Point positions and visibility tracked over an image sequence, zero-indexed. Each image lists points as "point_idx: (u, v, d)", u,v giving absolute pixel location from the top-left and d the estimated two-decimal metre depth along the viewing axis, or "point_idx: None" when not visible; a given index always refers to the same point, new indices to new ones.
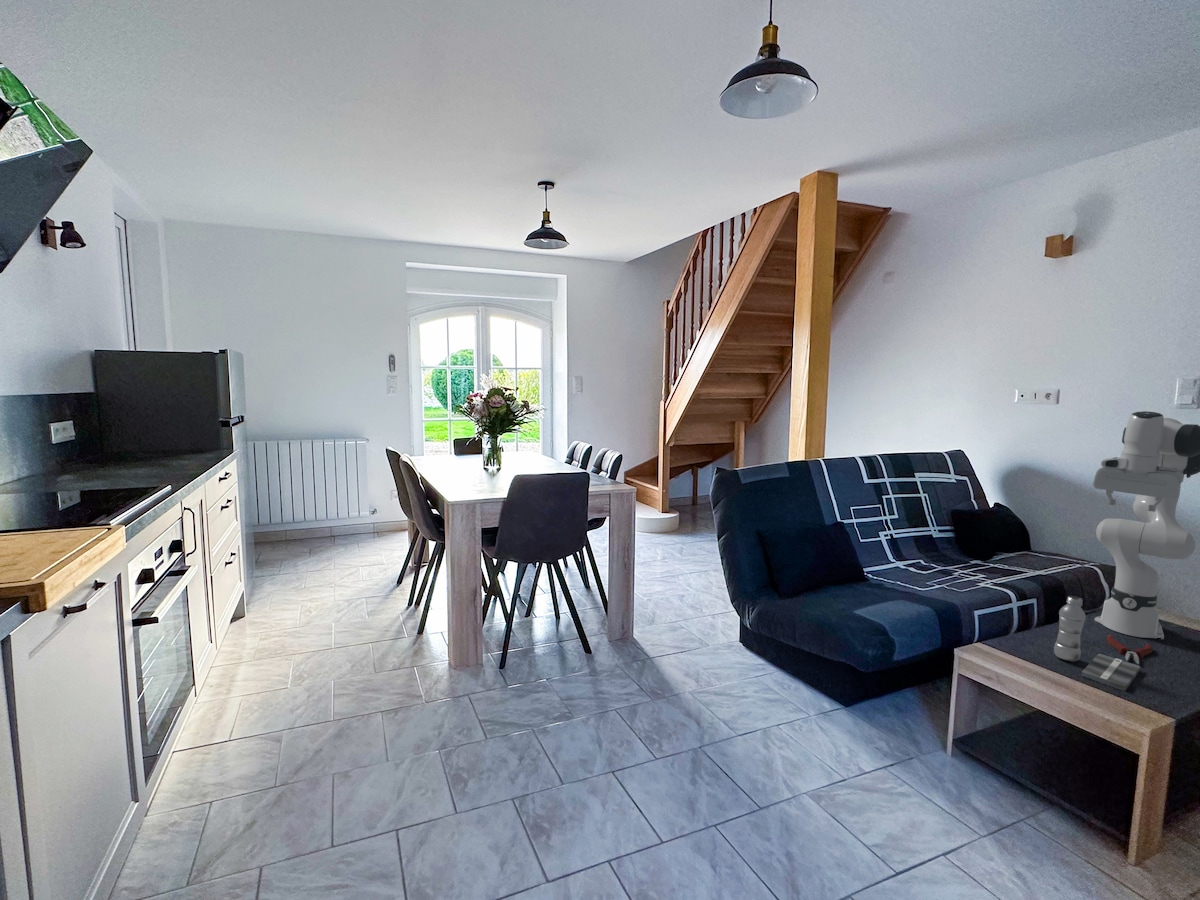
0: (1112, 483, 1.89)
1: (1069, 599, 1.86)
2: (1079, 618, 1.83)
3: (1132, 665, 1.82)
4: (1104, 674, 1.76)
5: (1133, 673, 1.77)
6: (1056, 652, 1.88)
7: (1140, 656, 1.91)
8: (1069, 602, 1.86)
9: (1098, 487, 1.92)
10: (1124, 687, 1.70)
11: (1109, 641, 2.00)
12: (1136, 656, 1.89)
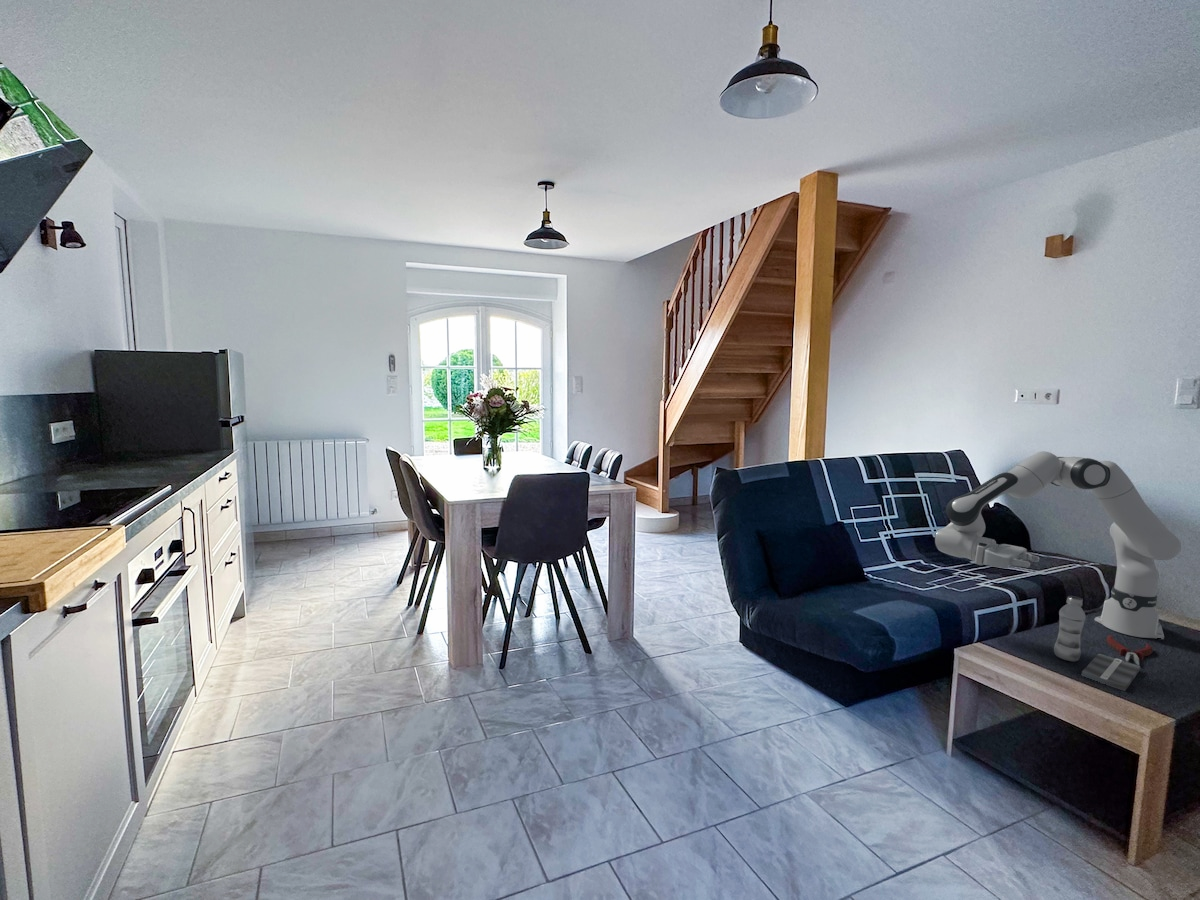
0: (1004, 553, 1.96)
1: (1069, 599, 1.86)
2: (1079, 618, 1.83)
3: (1132, 665, 1.82)
4: (1104, 674, 1.76)
5: (1133, 673, 1.77)
6: (1056, 652, 1.88)
7: (1140, 657, 1.90)
8: (1069, 602, 1.86)
9: (1007, 557, 1.93)
10: (1124, 687, 1.70)
11: (1109, 642, 2.00)
12: (1136, 657, 1.88)
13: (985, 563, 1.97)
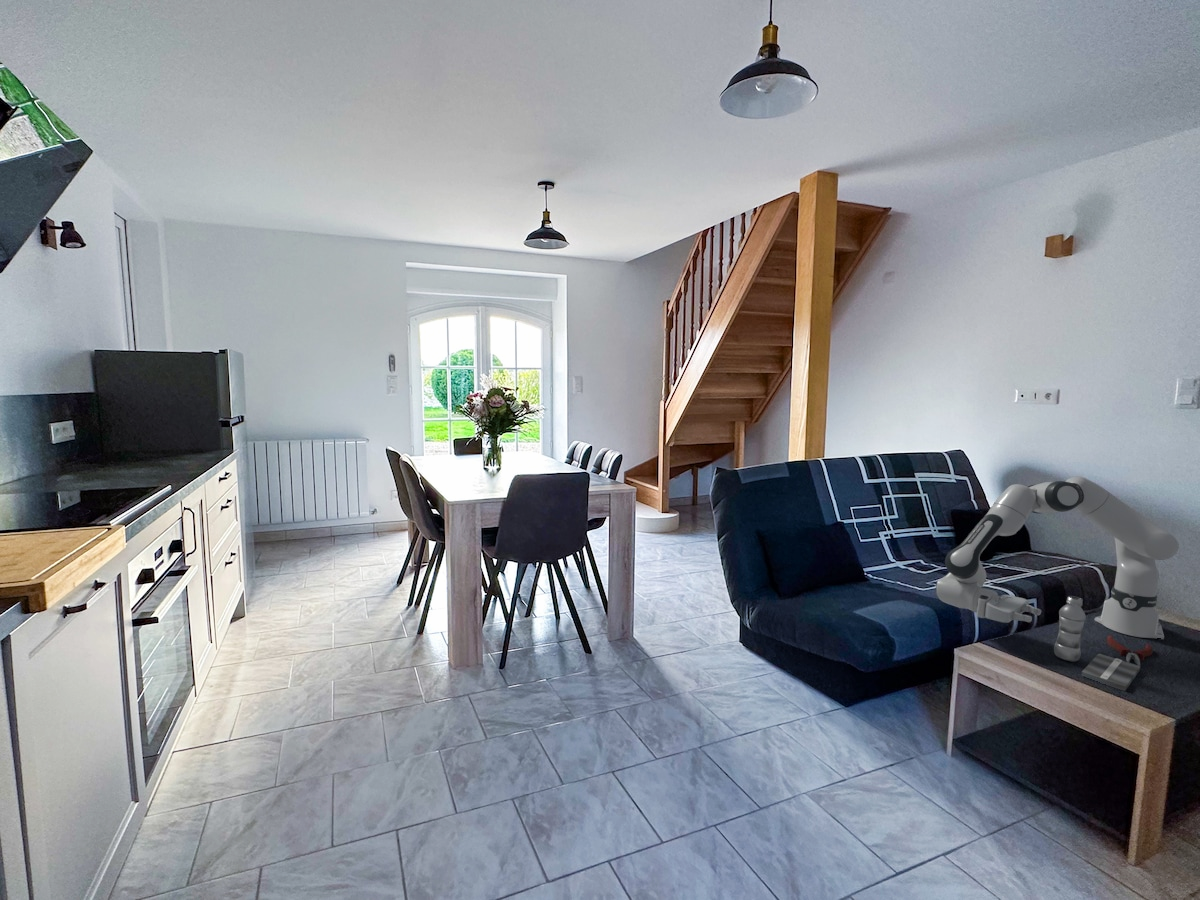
0: (1005, 607, 1.95)
1: (1069, 599, 1.86)
2: (1079, 618, 1.83)
3: (1132, 665, 1.82)
4: (1104, 674, 1.76)
5: (1133, 673, 1.77)
6: (1056, 652, 1.88)
7: (1141, 658, 1.90)
8: (1069, 602, 1.86)
9: (1009, 611, 1.92)
10: (1124, 687, 1.70)
11: (1109, 642, 1.99)
12: (1137, 658, 1.88)
13: (987, 617, 1.96)
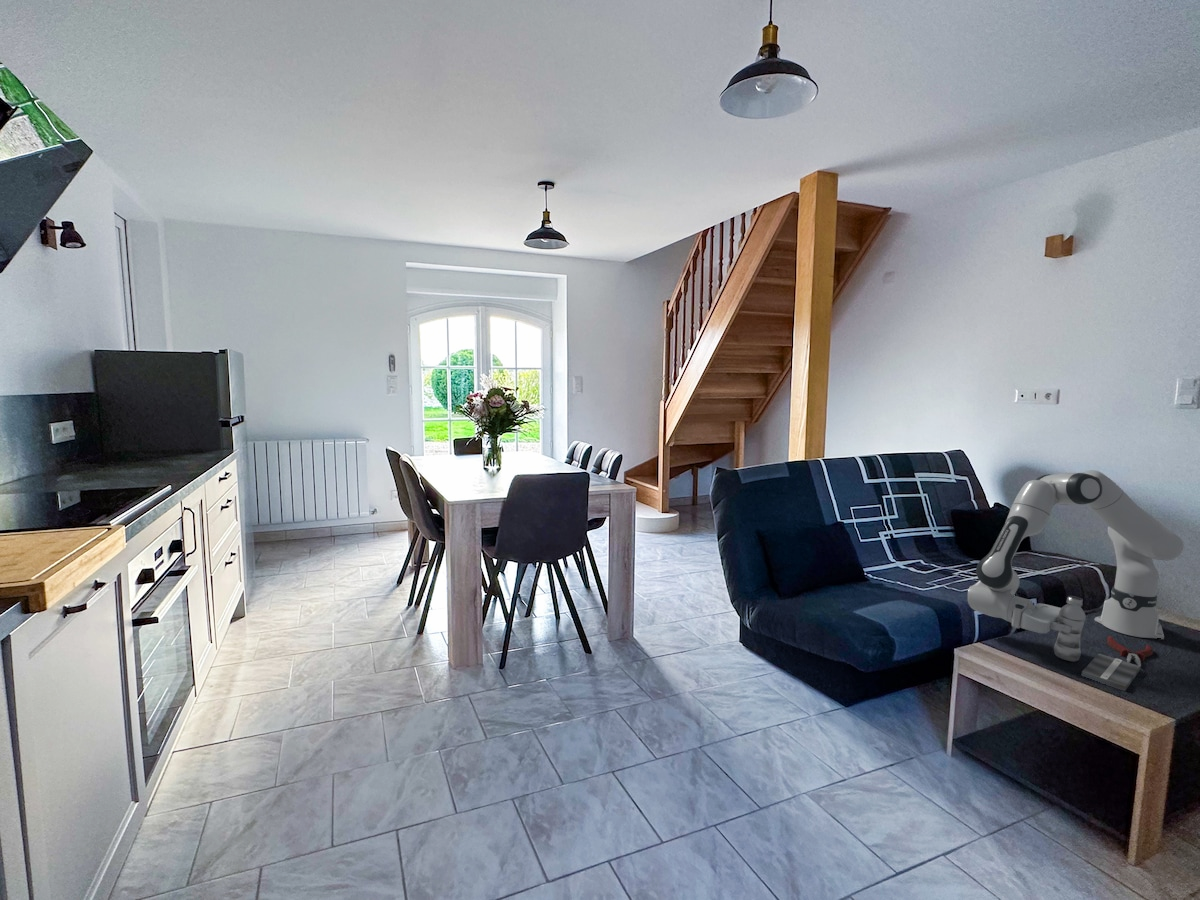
0: (1042, 617, 1.88)
1: (1069, 599, 1.86)
2: (1079, 618, 1.83)
3: (1132, 665, 1.82)
4: (1104, 674, 1.76)
5: (1133, 673, 1.77)
6: (1056, 652, 1.88)
7: (1141, 658, 1.89)
8: (1069, 602, 1.86)
9: (1047, 621, 1.85)
10: (1124, 687, 1.70)
11: (1110, 643, 1.99)
12: (1138, 659, 1.87)
13: (1023, 627, 1.89)
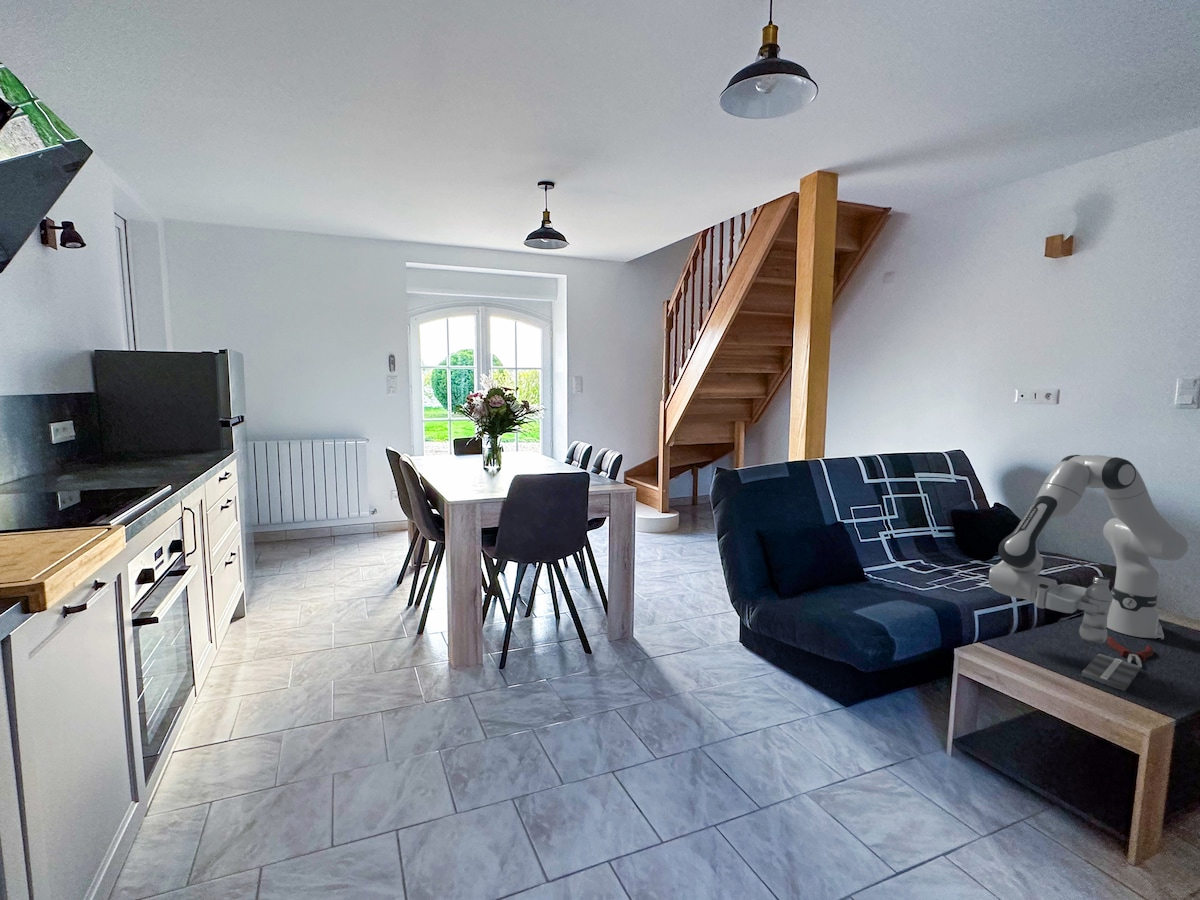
0: (1068, 596, 1.83)
1: (1095, 579, 1.80)
2: (1106, 598, 1.78)
3: (1132, 665, 1.82)
4: (1104, 674, 1.76)
5: (1133, 673, 1.77)
6: (1082, 634, 1.83)
7: (1142, 659, 1.89)
8: (1095, 582, 1.80)
9: (1073, 601, 1.79)
10: (1124, 687, 1.70)
11: (1110, 643, 1.98)
12: (1138, 659, 1.87)
13: (1047, 607, 1.83)
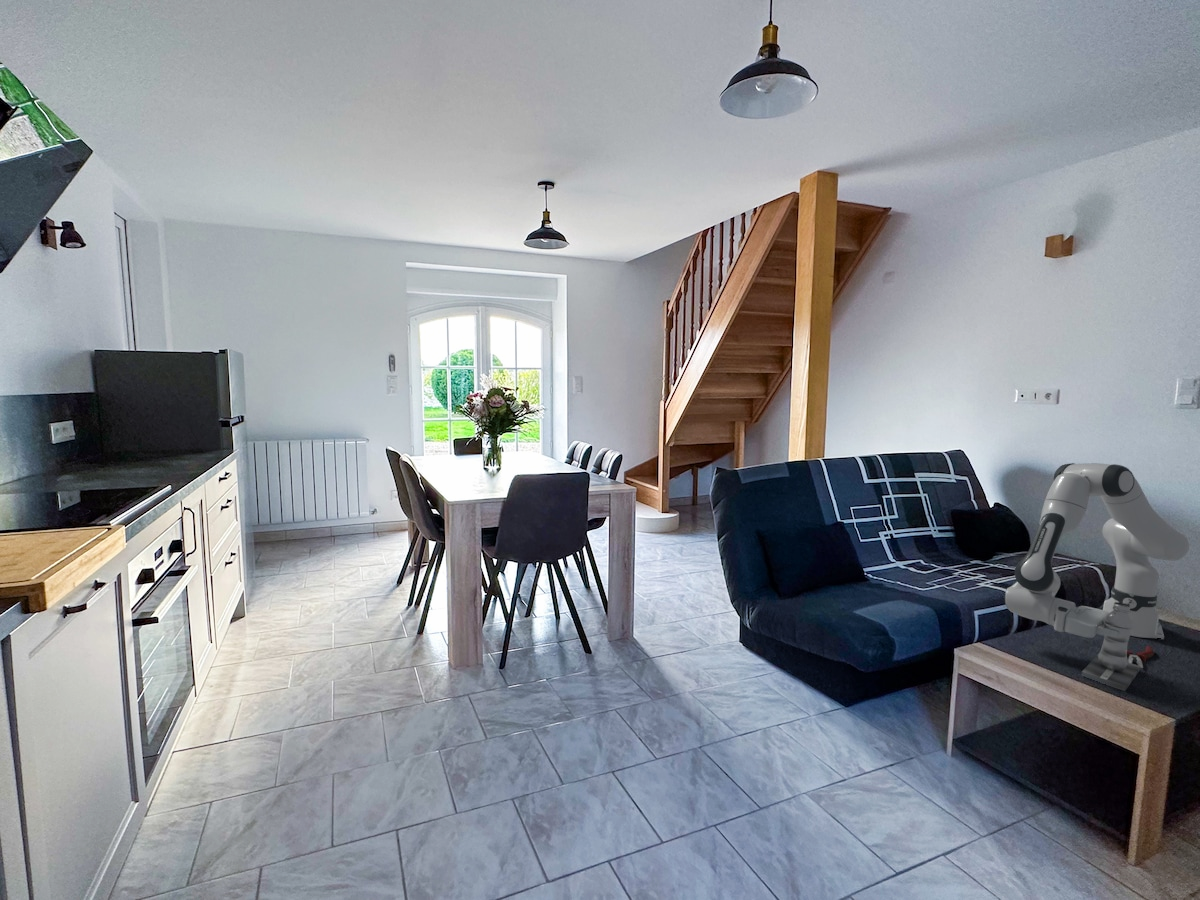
0: (1088, 620, 1.79)
1: (1116, 606, 1.77)
2: (1127, 625, 1.75)
3: (1132, 665, 1.82)
4: (1104, 674, 1.76)
5: (1133, 673, 1.77)
6: (1101, 661, 1.80)
7: (1143, 659, 1.88)
8: (1116, 609, 1.77)
9: (1093, 625, 1.76)
10: (1124, 687, 1.70)
11: None
12: (1139, 660, 1.86)
13: (1067, 630, 1.80)
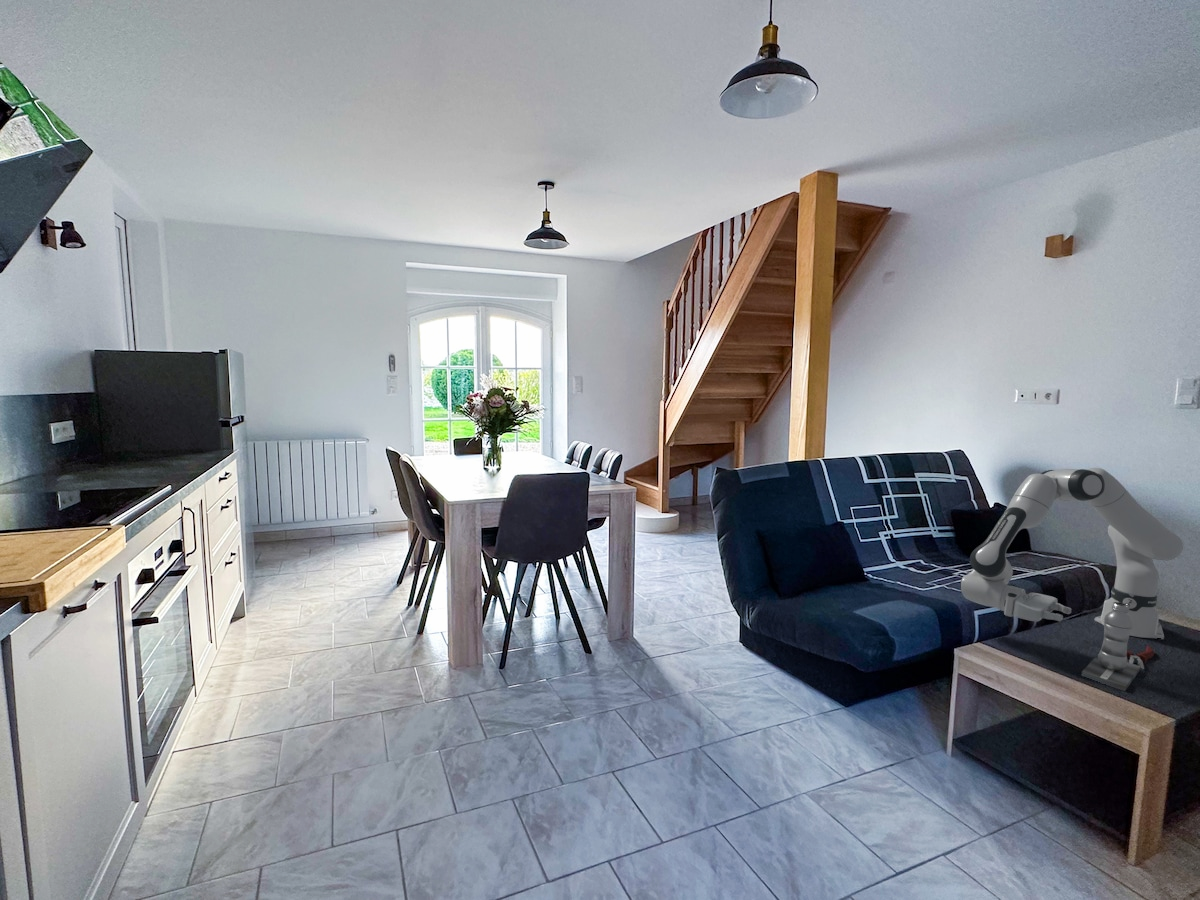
0: (1035, 605, 1.89)
1: (1115, 605, 1.77)
2: (1126, 625, 1.75)
3: (1132, 665, 1.82)
4: (1104, 674, 1.76)
5: (1133, 673, 1.77)
6: (1101, 661, 1.80)
7: (1143, 660, 1.88)
8: (1115, 608, 1.77)
9: (1039, 609, 1.86)
10: (1124, 687, 1.70)
11: None
12: (1140, 661, 1.86)
13: (1015, 615, 1.90)
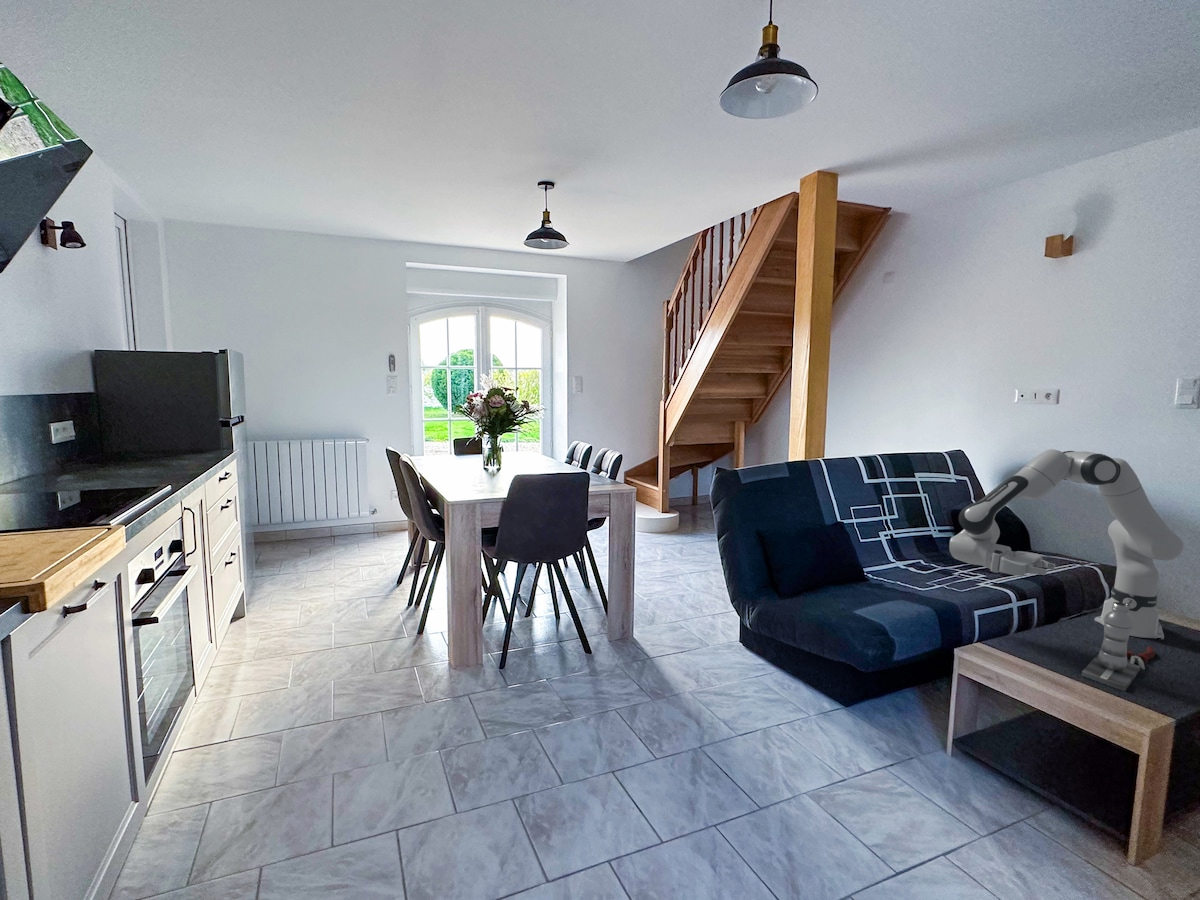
0: (1020, 561, 1.95)
1: (1115, 605, 1.77)
2: (1126, 625, 1.75)
3: (1132, 665, 1.82)
4: (1104, 674, 1.76)
5: (1133, 673, 1.77)
6: (1101, 661, 1.80)
7: (1144, 661, 1.88)
8: (1115, 608, 1.77)
9: (1023, 564, 1.92)
10: (1124, 687, 1.70)
11: None
12: (1141, 661, 1.86)
13: (1001, 570, 1.96)
